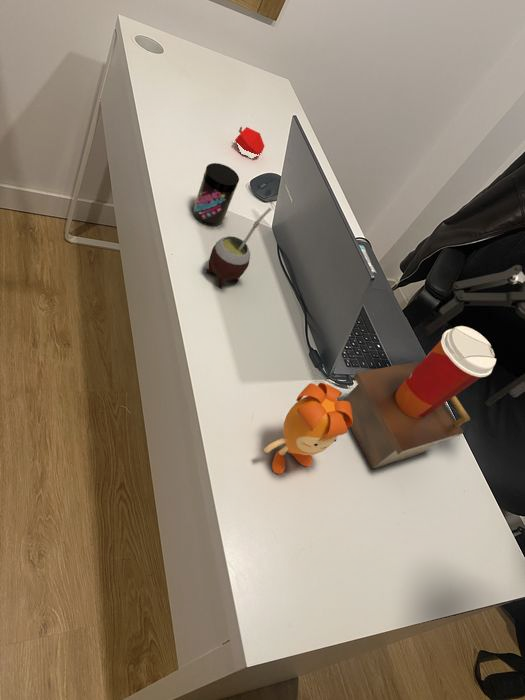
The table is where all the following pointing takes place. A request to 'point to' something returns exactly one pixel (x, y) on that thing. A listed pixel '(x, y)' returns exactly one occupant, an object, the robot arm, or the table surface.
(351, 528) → the table surface
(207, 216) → the supplement container
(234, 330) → the table surface
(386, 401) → the box with handle
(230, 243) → the mate gourd
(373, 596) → the table surface
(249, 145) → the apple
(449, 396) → the coffee cup
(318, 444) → the toy figure
